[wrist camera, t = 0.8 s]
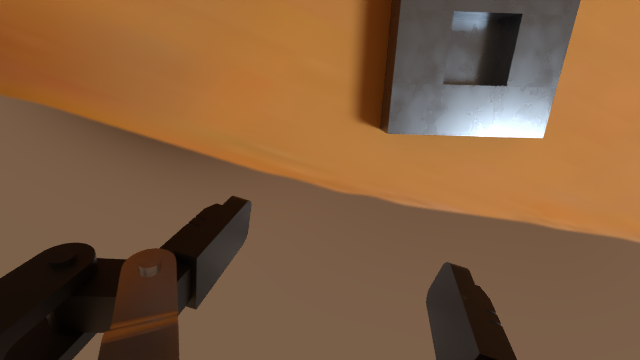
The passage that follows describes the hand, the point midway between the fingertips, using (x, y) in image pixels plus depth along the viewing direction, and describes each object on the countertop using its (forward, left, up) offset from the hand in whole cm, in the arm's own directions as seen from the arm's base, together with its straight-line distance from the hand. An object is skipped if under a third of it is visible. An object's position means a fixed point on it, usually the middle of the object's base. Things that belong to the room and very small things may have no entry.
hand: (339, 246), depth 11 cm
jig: (-11, +16, -26) cm, 32 cm away
